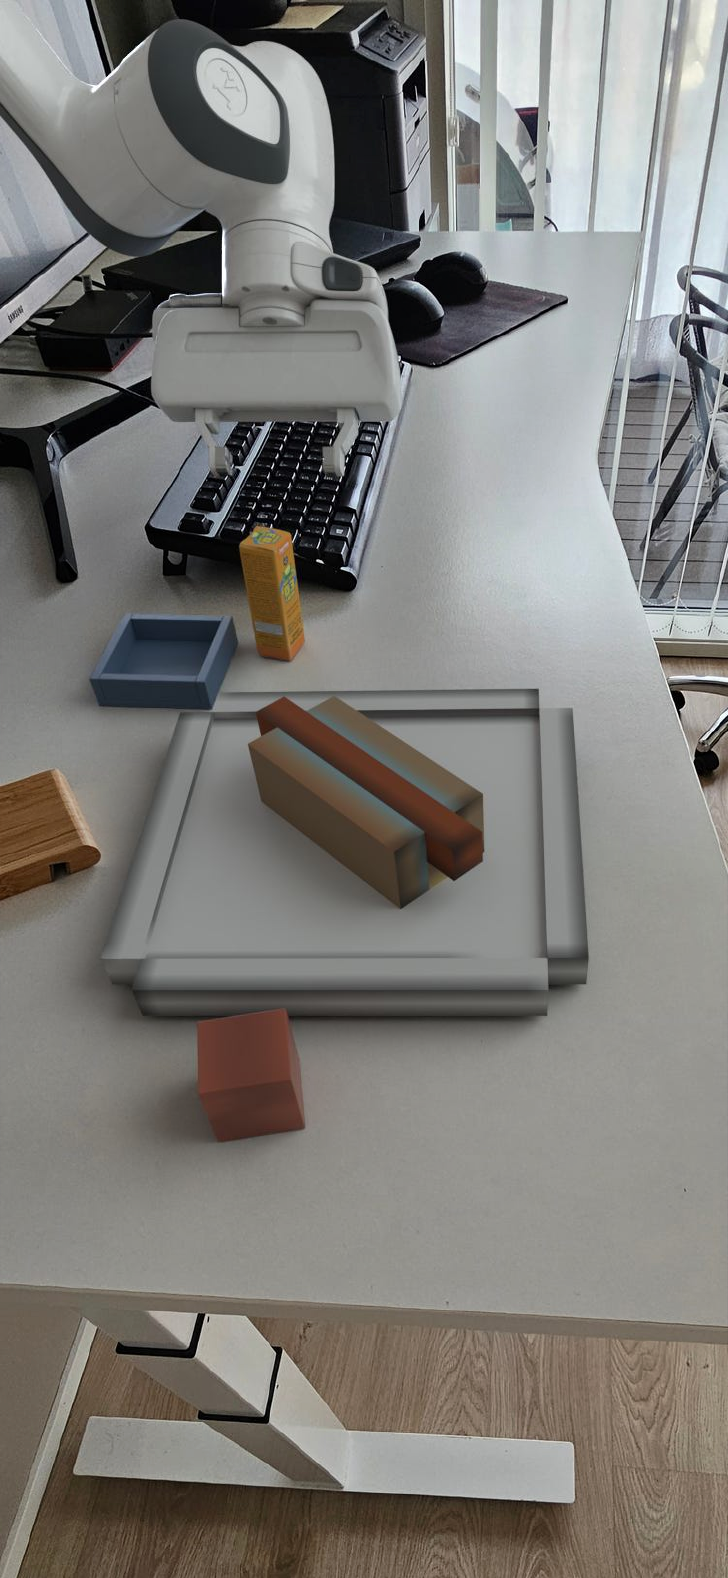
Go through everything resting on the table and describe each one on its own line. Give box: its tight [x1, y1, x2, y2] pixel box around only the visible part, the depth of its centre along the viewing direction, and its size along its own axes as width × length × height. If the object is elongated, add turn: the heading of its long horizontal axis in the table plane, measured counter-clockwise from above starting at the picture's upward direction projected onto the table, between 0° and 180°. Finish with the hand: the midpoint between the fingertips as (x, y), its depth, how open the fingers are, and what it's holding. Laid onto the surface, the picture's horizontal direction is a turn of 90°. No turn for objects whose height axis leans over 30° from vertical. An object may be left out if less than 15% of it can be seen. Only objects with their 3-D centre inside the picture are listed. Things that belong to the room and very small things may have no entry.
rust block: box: [196, 1009, 306, 1143], centre depth 59 cm, size 5×5×5 cm
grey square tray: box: [100, 688, 590, 1017], centre depth 70 cm, size 30×30×8 cm
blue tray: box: [88, 613, 239, 710], centre depth 87 cm, size 10×10×3 cm
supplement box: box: [238, 525, 306, 662], centre depth 86 cm, size 3×3×10 cm
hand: (276, 473), depth 85 cm, fingers open, 8 cm apart
